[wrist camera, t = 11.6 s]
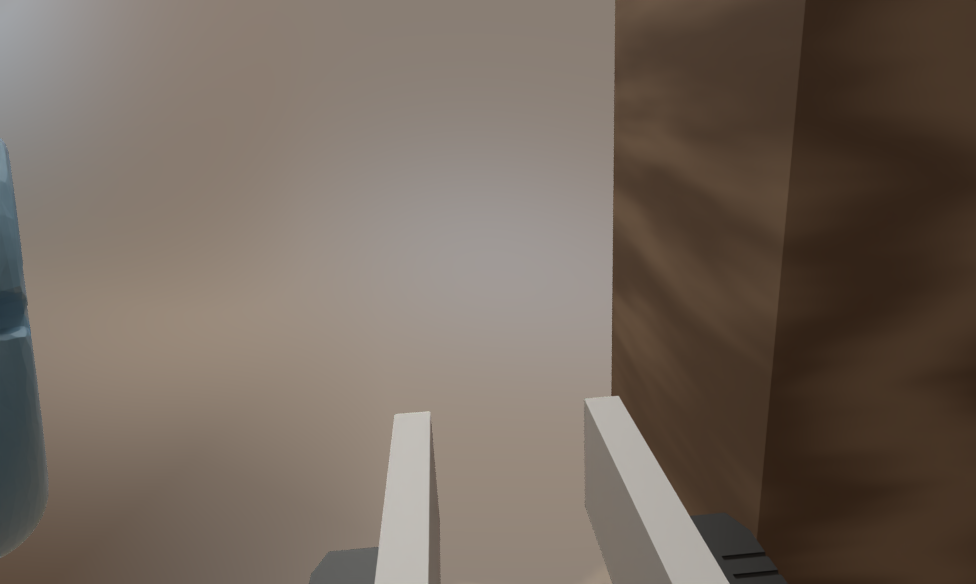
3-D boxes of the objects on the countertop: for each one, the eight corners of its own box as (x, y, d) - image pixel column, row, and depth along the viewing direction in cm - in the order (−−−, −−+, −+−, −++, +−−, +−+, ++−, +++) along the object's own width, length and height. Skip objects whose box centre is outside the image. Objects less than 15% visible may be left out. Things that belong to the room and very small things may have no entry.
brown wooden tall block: (733, 798, 22) (862, -629, 11) (610, 503, 37) (617, -225, 27) (1189, 745, 23) (1693, -617, 12) (887, 478, 38) (998, -233, 28)
